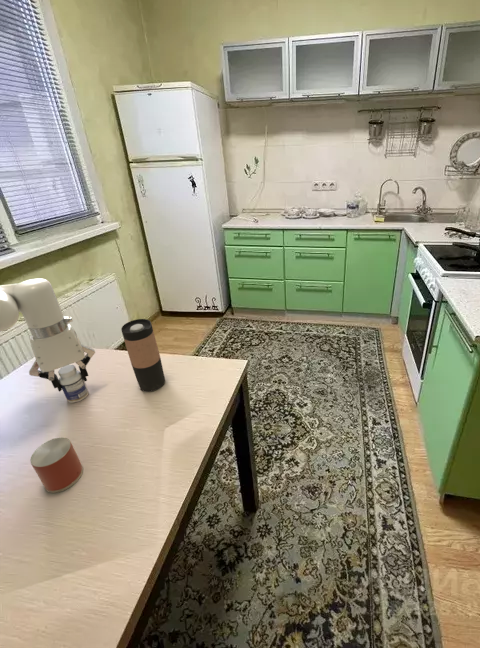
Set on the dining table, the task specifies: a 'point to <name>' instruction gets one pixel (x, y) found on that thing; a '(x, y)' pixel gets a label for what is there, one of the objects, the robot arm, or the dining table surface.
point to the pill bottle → (72, 383)
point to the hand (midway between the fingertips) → (72, 382)
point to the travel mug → (144, 354)
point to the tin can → (57, 464)
